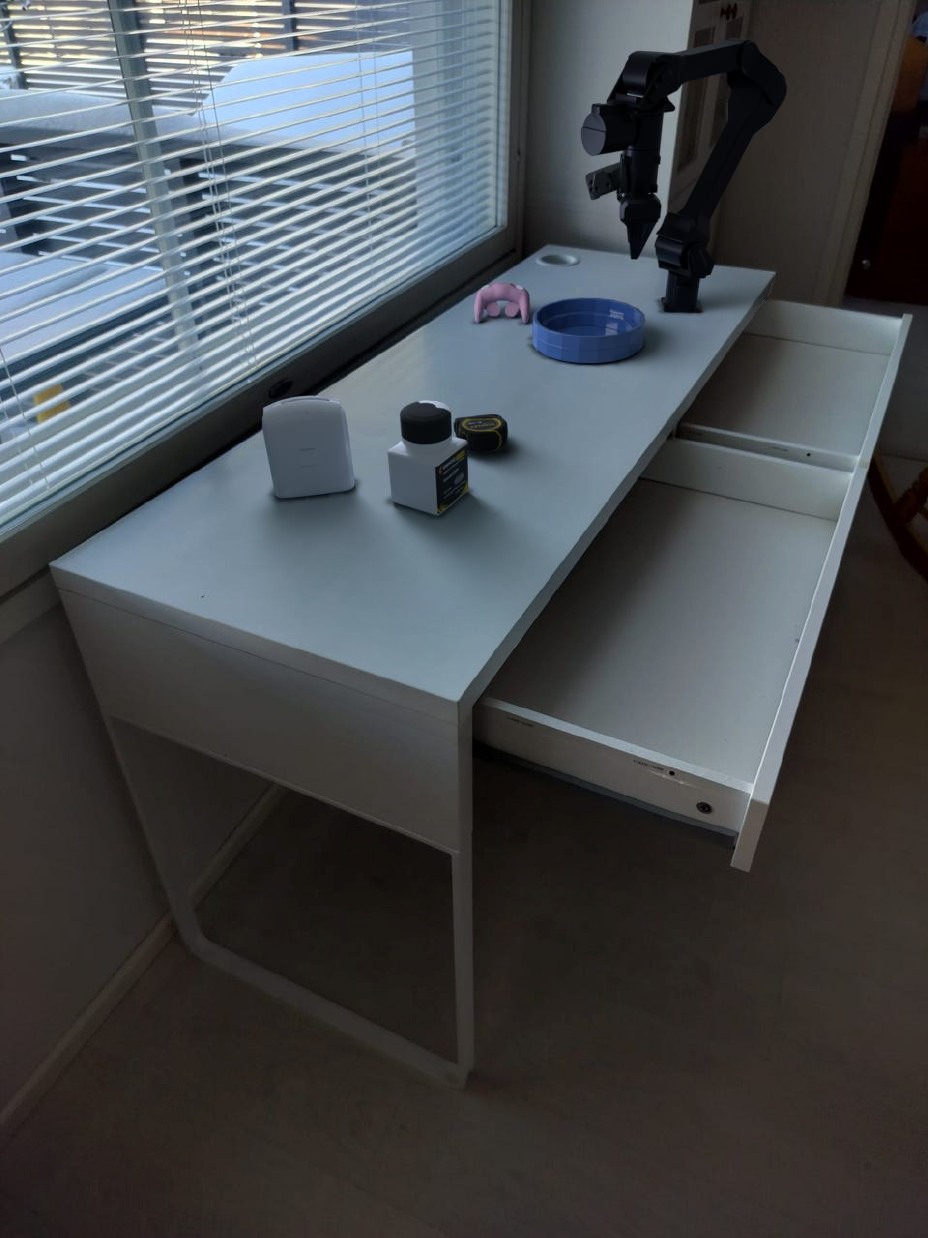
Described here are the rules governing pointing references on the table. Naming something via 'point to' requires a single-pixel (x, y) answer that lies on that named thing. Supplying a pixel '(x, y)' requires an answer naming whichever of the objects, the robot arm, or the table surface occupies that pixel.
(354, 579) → the table surface
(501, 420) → the tape measure
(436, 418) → the medicine bottle
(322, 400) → the photo printer
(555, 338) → the bowl
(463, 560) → the table surface
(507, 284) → the video game controller
